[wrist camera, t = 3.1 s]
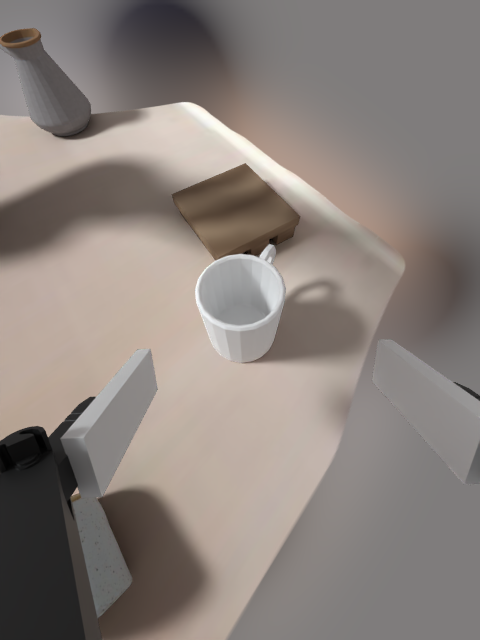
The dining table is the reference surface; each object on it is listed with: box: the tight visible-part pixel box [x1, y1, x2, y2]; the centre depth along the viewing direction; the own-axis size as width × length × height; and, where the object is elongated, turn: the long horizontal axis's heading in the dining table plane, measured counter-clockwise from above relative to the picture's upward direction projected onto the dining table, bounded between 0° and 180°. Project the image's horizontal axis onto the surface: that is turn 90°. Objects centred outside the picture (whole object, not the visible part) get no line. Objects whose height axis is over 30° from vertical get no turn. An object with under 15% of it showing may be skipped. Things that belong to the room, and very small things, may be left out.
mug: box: [195, 244, 286, 363], centre depth 27 cm, size 8×12×10 cm, turn 152°
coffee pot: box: [0, 28, 91, 136], centre depth 46 cm, size 21×12×15 cm, turn 65°
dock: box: [172, 163, 300, 260], centre depth 37 cm, size 14×13×4 cm
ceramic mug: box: [70, 493, 132, 618], centre depth 19 cm, size 11×8×8 cm
